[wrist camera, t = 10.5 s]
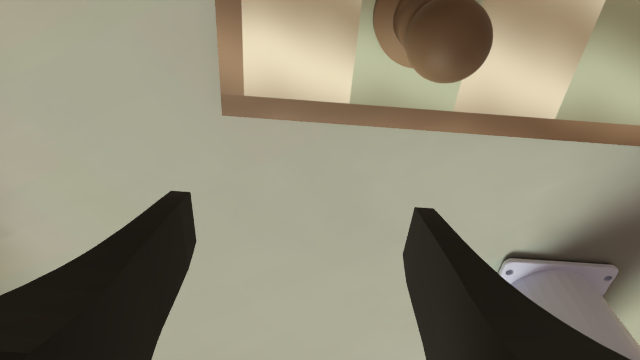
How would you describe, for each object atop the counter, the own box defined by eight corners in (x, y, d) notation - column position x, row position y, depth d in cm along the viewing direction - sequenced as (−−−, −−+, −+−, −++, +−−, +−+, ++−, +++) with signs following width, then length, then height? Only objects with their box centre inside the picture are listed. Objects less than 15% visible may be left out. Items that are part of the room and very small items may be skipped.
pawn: (454, 66, 20) (503, 118, 14) (366, 58, 20) (382, 109, 14) (480, -35, 17) (551, -17, 12) (380, -43, 17) (406, -30, 12)
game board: (747, 148, 23) (760, 155, 22) (225, 109, 22) (222, 115, 21) (924, -91, 17) (949, -92, 16) (210, -159, 16) (205, -163, 15)
